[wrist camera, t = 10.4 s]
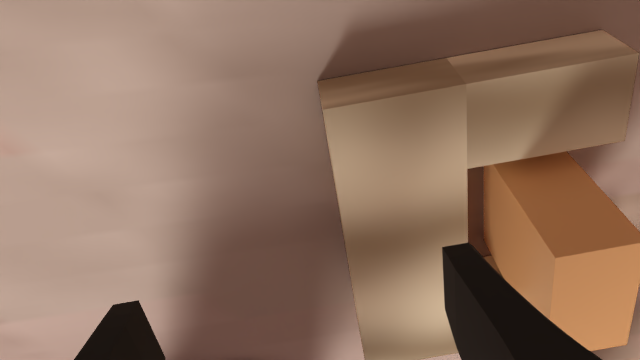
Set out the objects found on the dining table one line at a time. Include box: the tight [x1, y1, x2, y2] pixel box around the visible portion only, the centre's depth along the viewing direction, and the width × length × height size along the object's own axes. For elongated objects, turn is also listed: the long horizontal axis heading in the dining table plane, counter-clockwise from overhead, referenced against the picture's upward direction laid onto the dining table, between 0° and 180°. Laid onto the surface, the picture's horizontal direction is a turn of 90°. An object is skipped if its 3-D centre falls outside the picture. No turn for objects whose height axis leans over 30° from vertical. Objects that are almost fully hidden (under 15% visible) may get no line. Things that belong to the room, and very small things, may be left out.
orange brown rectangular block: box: [484, 151, 640, 351], centre depth 22 cm, size 5×3×7 cm, turn 9°
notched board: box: [317, 30, 639, 360], centre depth 24 cm, size 14×11×2 cm
